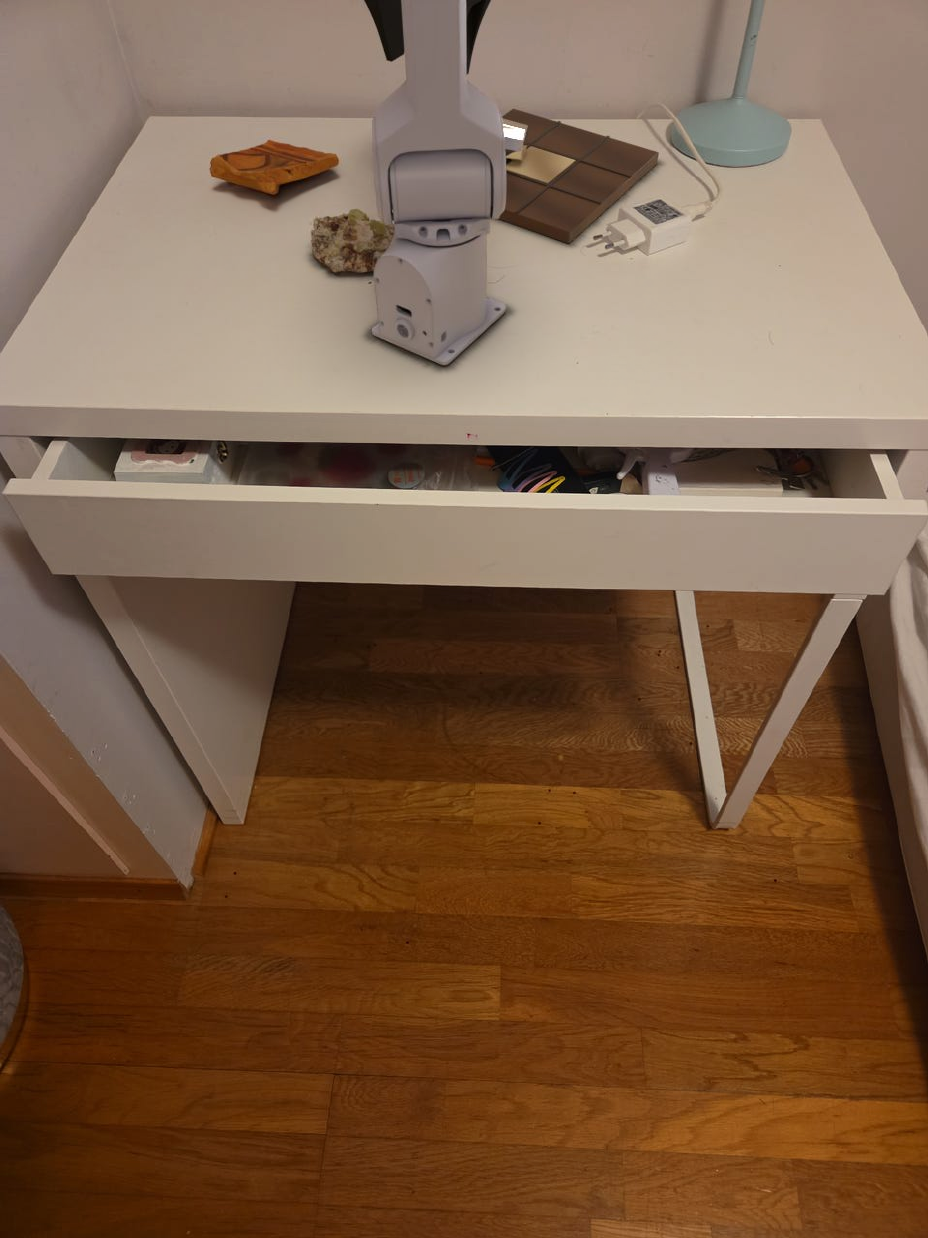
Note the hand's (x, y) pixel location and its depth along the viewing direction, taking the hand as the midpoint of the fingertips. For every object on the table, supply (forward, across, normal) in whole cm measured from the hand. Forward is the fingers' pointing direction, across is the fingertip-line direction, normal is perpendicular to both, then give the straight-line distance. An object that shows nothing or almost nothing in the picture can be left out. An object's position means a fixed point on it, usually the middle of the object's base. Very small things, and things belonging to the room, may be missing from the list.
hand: (427, 66), depth 84 cm
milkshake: (+7, -9, -5) cm, 12 cm away
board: (+10, -10, -5) cm, 15 cm away
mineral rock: (+10, -4, +16) cm, 19 cm away
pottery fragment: (+10, +12, +10) cm, 19 cm away
